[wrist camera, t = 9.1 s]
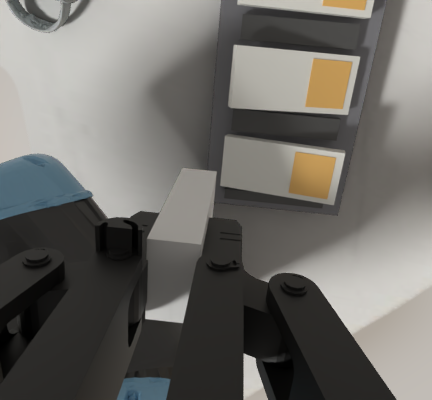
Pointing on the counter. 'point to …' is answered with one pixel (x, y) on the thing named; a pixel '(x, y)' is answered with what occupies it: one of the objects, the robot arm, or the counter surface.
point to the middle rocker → (291, 80)
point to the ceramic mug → (35, 22)
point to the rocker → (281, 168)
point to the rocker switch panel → (284, 120)
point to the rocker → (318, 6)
